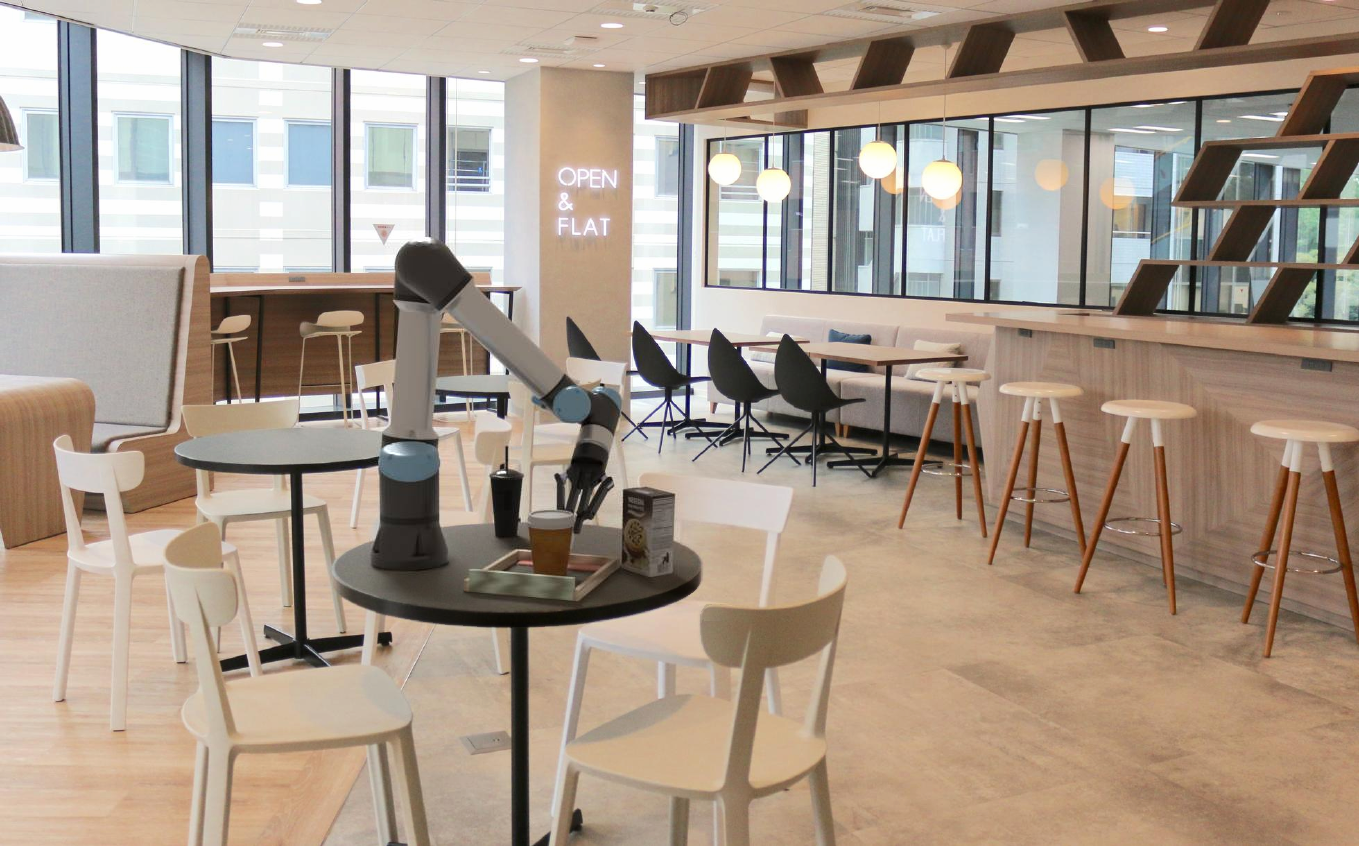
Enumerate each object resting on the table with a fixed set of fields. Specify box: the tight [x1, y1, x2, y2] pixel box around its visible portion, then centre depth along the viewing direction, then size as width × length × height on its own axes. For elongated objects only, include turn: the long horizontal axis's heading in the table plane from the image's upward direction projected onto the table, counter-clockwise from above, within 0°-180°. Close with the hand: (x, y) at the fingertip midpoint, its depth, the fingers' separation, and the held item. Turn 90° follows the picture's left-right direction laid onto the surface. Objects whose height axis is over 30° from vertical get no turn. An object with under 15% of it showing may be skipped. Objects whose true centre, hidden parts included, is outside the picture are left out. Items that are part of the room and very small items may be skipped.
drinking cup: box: [488, 445, 525, 538], centre depth 261 cm, size 8×8×20 cm
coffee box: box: [621, 486, 676, 578], centre depth 233 cm, size 9×6×16 cm
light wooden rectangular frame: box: [463, 548, 620, 602], centre depth 226 cm, size 22×26×4 cm
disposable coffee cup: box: [525, 509, 576, 577], centre depth 228 cm, size 10×10×12 cm
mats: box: [516, 559, 603, 572], centre depth 236 cm, size 18×4×1 cm, turn 77°
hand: (566, 545), depth 236 cm, fingers closed
